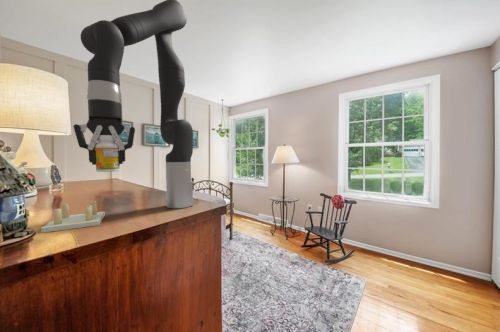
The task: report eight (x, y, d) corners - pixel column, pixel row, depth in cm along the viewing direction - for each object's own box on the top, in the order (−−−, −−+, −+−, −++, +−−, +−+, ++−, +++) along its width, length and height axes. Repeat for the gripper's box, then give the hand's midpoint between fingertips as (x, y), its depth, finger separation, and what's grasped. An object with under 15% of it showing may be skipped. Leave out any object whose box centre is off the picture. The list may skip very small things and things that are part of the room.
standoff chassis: (104, 215, 69) (104, 199, 69) (98, 225, 59) (98, 206, 59) (57, 220, 64) (56, 203, 64) (41, 232, 53) (40, 212, 53)
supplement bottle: (95, 171, 57) (93, 135, 57) (118, 170, 61) (116, 137, 60) (97, 172, 53) (95, 134, 53) (121, 171, 57) (120, 135, 56)
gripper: (135, 107, 63) (137, 163, 64) (75, 101, 56) (78, 164, 57) (135, 101, 56) (137, 163, 57) (66, 94, 50) (70, 165, 50)
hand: (108, 163), depth 57 cm, fingers closed on supplement bottle, 5 cm apart
